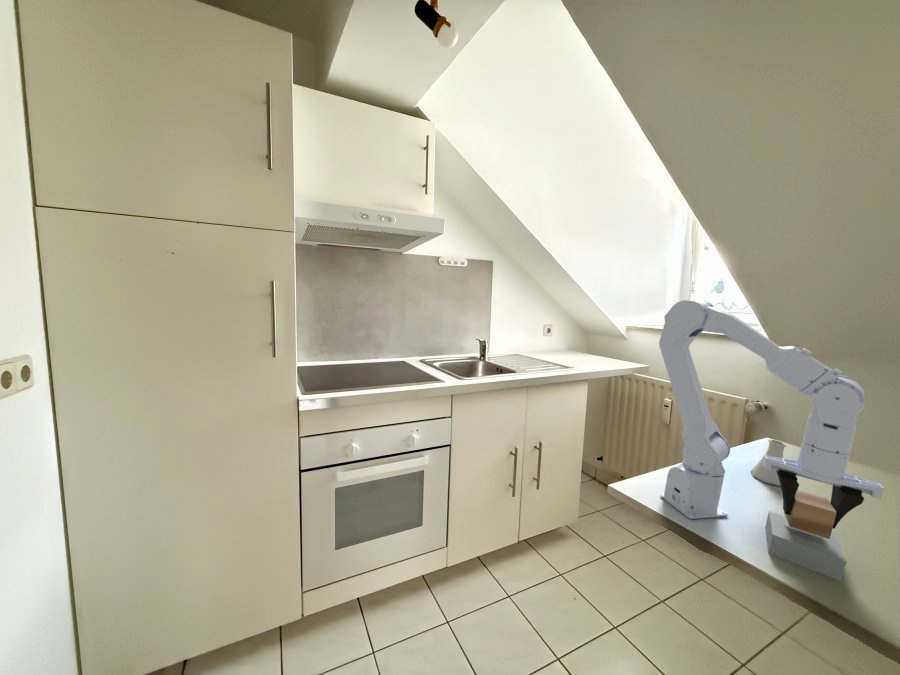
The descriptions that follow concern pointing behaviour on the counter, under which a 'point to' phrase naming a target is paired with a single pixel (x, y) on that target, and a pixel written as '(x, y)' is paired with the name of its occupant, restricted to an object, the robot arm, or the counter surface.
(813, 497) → the walnut cube
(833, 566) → the slate block
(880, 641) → the counter surface
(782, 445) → the flask
